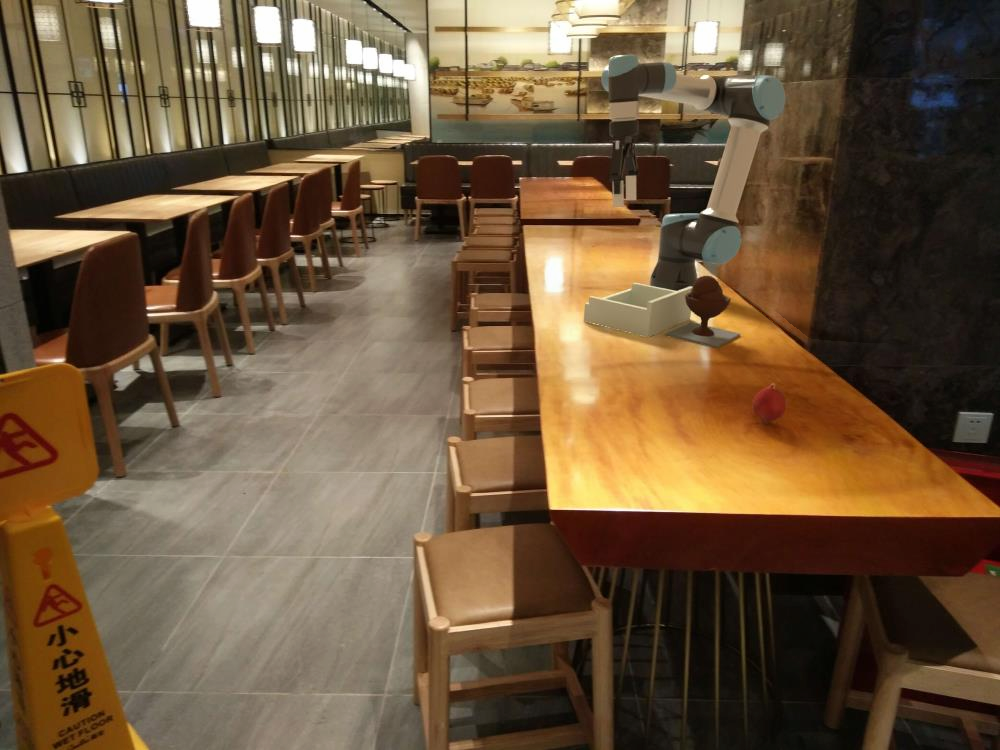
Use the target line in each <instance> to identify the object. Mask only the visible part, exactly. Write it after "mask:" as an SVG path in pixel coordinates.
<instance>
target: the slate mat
mask: <svg viewBox="0 0 1000 750" xmlns="http://www.w3.org/2000/svg"><path fill="white" fill-rule="evenodd" d="M700 325H701V323H695V322H688V323H685V324H683V325H681V326H678V327H677V328H674V329H672V330H669V331H668V332H665V333H664V336H667V337H669V338H674V339H678V340H682V341H687V342H691V343H695V344H699V345H704V346H708V347H712V348H715V349H718V348H720V347H721V346H723V345H726V344H727V343H729V342H731V341H733V340H735V339H738V338H739V337H740V336H741V333H740V332H735V331H732V330H727V329H721V328H717V327H714V326H710V325H708V328H710V329H711V330H712V331H713V332H714V335H713V336H699V335H696V334H694V333H692V331H693V329H695V328H697V327H699V326H700Z"/></svg>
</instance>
